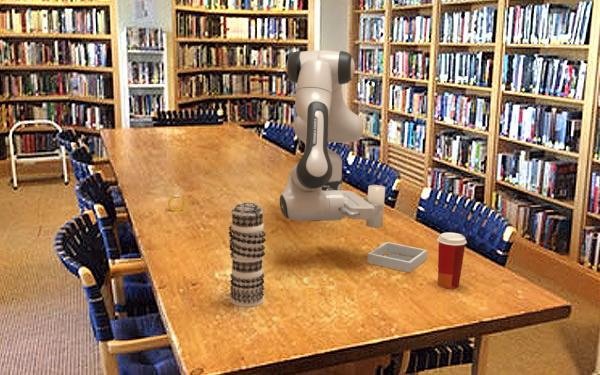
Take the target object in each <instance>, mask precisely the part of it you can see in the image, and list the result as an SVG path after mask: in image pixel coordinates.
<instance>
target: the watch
mask: <svg viewBox="0 0 600 375" xmlns="http://www.w3.org/2000/svg"><path fill="white" fill-rule="evenodd" d="M173 199H181V200H182V204H181V207H180V208H178V209H177V208H176V209H175V208H172V207H171V205H170V204H171V201H172V200H173ZM167 205H168V207H169V209H170V211H172V212H178V211H179V212H181V211H182V210H183V209H184V207H185V200H184V198H183V197H182V196H181V194H173V195H172V196H171V197H170V198H169V200H168V204H167Z"/></svg>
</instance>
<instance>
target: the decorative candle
mask: <svg viewBox="0 0 600 375" xmlns="http://www.w3.org/2000/svg"><path fill="white" fill-rule="evenodd" d="M264 213H265V210H264V209H263V208H261V207H260V205H259V204H257V203H254V202H242V203H238V204H237V205H236V206H235V207H234V208H233V209H231V215H232V216H231V217H232V218H231V225H229V227H228V230H229V231H228V237H229V238H230V239H229V250H230V251H231V252H230V253H229V255H230V259H231V261H232V262H231V264H232V265H231V273H230V276H229V277H230V285H231V286H230V287H229V289H230V293H229V295H230V302H231V303H232V305H235V306H237V307H244V308H249V307H250V308H253V307H256V306H257V307H258V306H259V305H261V304H263V302H264V301H265V298H264V296H265V285H264V283H265V281H264V280H265V279H264V278H265V274H264V267H263V259H264V258H265V255H266V253H265V251H264V250H265V249H266V247H265V245H263V244H264V243H265V242H266V241H267V240H266V238H265V237H266V234H267V233H266V232H265V231H264V222H263V219H264V215H263V214H264Z"/></svg>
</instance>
